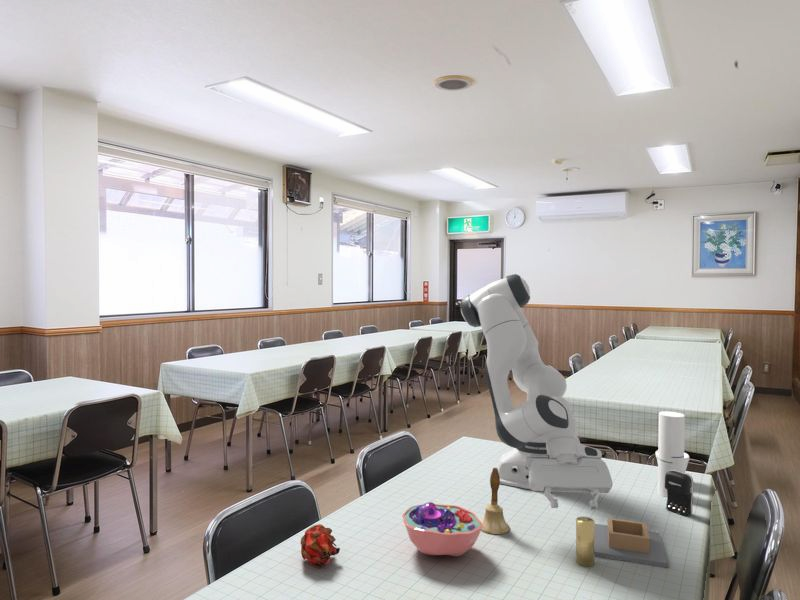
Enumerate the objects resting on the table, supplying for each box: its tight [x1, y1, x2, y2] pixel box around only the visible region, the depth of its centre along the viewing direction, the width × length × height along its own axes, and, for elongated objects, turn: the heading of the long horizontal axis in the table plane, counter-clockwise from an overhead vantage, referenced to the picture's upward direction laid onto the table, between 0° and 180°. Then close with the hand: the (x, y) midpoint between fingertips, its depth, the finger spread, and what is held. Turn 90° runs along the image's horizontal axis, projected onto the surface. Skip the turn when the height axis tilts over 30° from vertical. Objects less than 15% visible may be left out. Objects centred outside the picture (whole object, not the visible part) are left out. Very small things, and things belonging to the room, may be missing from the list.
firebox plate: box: [594, 517, 669, 568], centre depth 132 cm, size 16×16×4 cm
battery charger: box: [665, 470, 694, 517], centre depth 151 cm, size 7×4×11 cm, turn 33°
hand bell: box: [480, 467, 511, 535], centre depth 141 cm, size 8×8×16 cm
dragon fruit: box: [300, 523, 341, 569], centre depth 124 cm, size 8×8×12 cm
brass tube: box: [575, 516, 595, 568], centre depth 123 cm, size 4×4×10 cm
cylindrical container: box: [657, 410, 686, 498], centre depth 164 cm, size 7×7×25 cm
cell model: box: [401, 501, 482, 557], centre depth 129 cm, size 17×20×11 cm
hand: (574, 508), depth 129 cm, fingers open, 8 cm apart
